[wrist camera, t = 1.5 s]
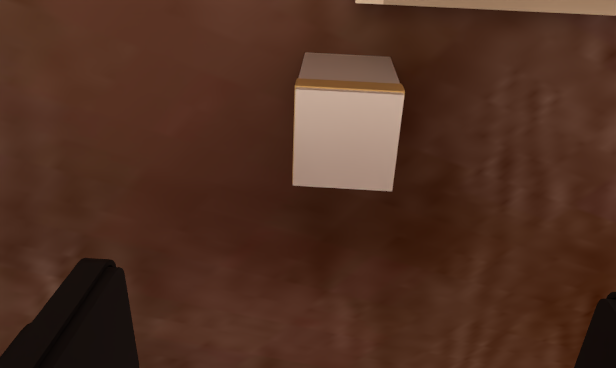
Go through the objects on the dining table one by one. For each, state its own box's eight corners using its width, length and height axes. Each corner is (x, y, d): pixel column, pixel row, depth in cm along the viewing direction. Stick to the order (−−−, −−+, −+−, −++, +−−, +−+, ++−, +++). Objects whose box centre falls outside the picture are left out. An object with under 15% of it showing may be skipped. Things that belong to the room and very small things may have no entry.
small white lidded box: (382, 137, 26) (393, 192, 21) (301, 132, 26) (291, 186, 21) (391, 55, 24) (405, 93, 19) (304, 51, 25) (294, 88, 19)
